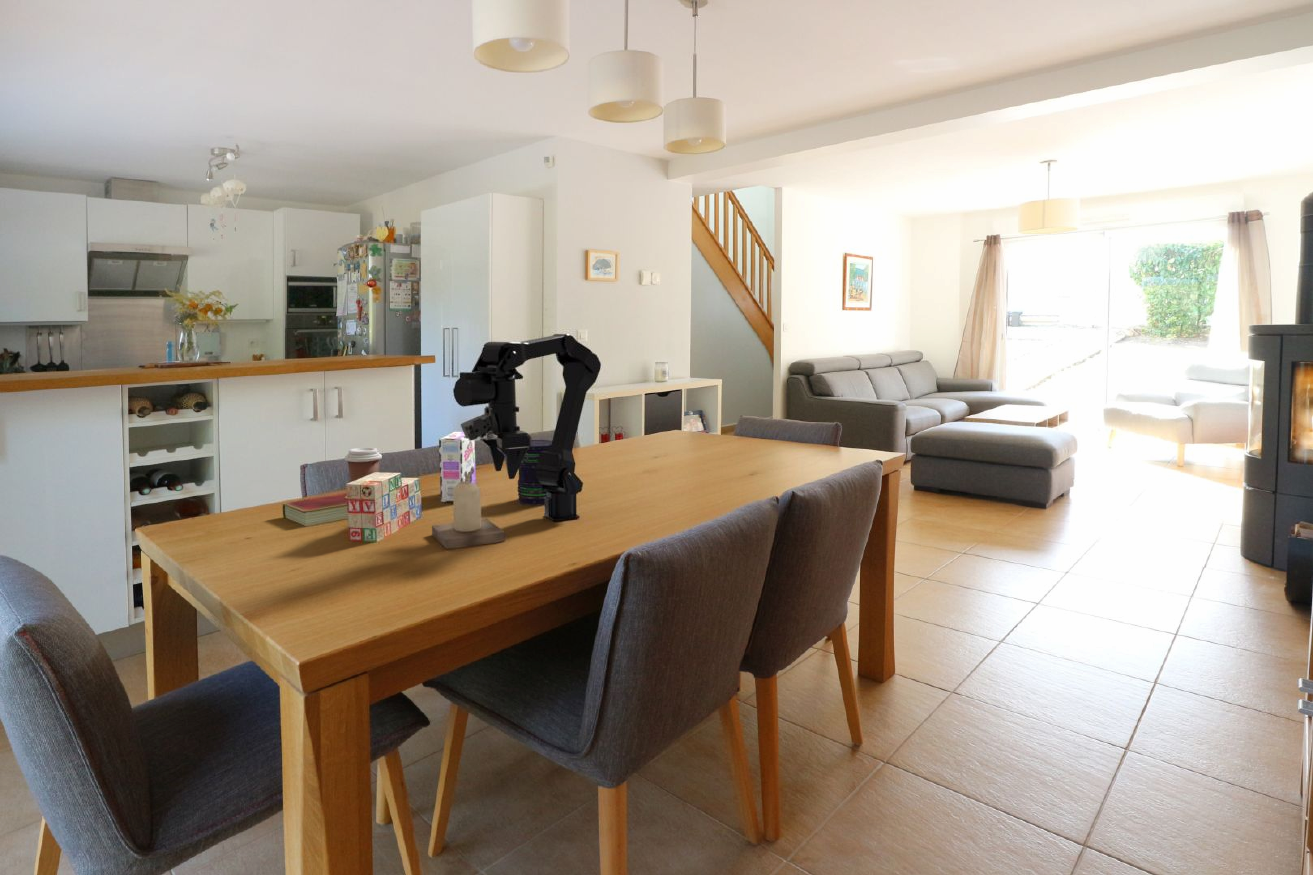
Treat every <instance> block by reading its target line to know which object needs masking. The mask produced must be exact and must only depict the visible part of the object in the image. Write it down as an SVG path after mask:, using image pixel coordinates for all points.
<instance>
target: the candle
mask: <svg viewBox="0 0 1313 875" xmlns="http://www.w3.org/2000/svg"><path fill="white" fill-rule="evenodd" d="M481 496H482V495H481V487H480V485H478V484H477V483H476V484H475V483H474V482H472V483H470V482H464V481H461V482H459V483H458V484H457V485H456V487H455V488H454V489H453V502H452V503H453V523H454V528H455V530H456V531H460V532H470V531H476V530H479V529H481V520H482V502H481V500H482V499H481Z"/></svg>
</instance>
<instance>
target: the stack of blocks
mask: <svg viewBox="0 0 1313 875" xmlns="http://www.w3.org/2000/svg"><path fill="white" fill-rule="evenodd" d="M420 484H421V480H420V477H419V478H417V477H402V473H401V472H380V471H379V472H375V473H372V474H370V475H367V476H365V477H363V478H360V479H358V480H355V481H352V482H348V483H346V484H345V487H346V488H345V489H346V493H347V512H348V519H347V520H348V541H349V542H350V541H351V542H370V543H377V542H380V541H381V540H383V539H386V538H387V537H388V536H390V535H392V534H394V533H396V532H398V531H399V530H400V529H403V528H404V527H405V526H407V525H408V524H410V523H411V524H412V523H413V522H414V521H416V520H418V519H419V518H421V517H422V516H423V515H422V494H421V492H422V491H421V485H420Z"/></svg>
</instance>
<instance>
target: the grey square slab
mask: <svg viewBox="0 0 1313 875" xmlns="http://www.w3.org/2000/svg"><path fill="white" fill-rule="evenodd" d="M431 535H432V537H434V538H435V540H437V542H439V543H440V544H441V545H442V547H443V548H445V549H446V550H452V549H453V550H454V549H458V548H466V547H474V546H481V545H488V544H497V543H503V542H506V539H505V538H506V536H505V531H504V530H503V529H501V528H500V527H499V526H497V525H496V524H495V523H493V521H490V520H489V518H485V519H481V529H479V530H476V531H470V532H460V531H456V530H455V528H454V522H452V523H445V524H435V525H431Z"/></svg>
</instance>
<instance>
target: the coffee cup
mask: <svg viewBox="0 0 1313 875" xmlns="http://www.w3.org/2000/svg"><path fill="white" fill-rule="evenodd" d="M382 458H383V456H382V454H381V453H380V452H379V451H378V448H376V447H368V446H367V447H355V448H350V449H349V450H348V453H347V455H345V456H344V461H346V462H347V466H348V474H349V481H350V482H352V481H355V480H358V479H360V478H363V477H365V476H367V475H370V474H372V473H375V472H380V460H381V459H382ZM350 482H349V483H350Z"/></svg>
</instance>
